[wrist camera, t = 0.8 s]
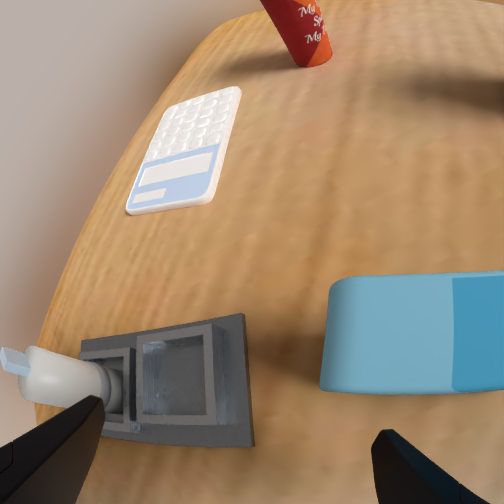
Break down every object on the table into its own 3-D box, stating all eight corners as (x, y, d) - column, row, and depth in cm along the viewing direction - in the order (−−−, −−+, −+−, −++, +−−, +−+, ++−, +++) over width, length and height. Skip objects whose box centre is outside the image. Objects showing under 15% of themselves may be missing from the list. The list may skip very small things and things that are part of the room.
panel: (254, 446, 21) (242, 449, 20) (83, 432, 28) (68, 430, 26) (244, 314, 27) (232, 307, 25) (85, 341, 34) (71, 336, 32)
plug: (136, 389, 27) (22, 363, 17) (114, 424, 26) (4, 409, 16) (112, 358, 30) (9, 324, 20) (91, 392, 29) (-9, 367, 19)
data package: (350, 393, 21) (309, 389, 11) (356, 332, 22) (321, 274, 13) (506, 389, 15) (593, 372, 6) (507, 328, 17) (584, 263, 7)
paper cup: (338, 67, 36) (303, -24, 25) (284, 74, 40) (241, -8, 28) (340, 41, 39) (310, -39, 27) (292, 48, 42) (256, -26, 31)
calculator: (244, 91, 42) (239, 81, 41) (215, 206, 34) (206, 196, 33) (171, 113, 48) (165, 106, 46) (129, 219, 40) (120, 212, 38)
